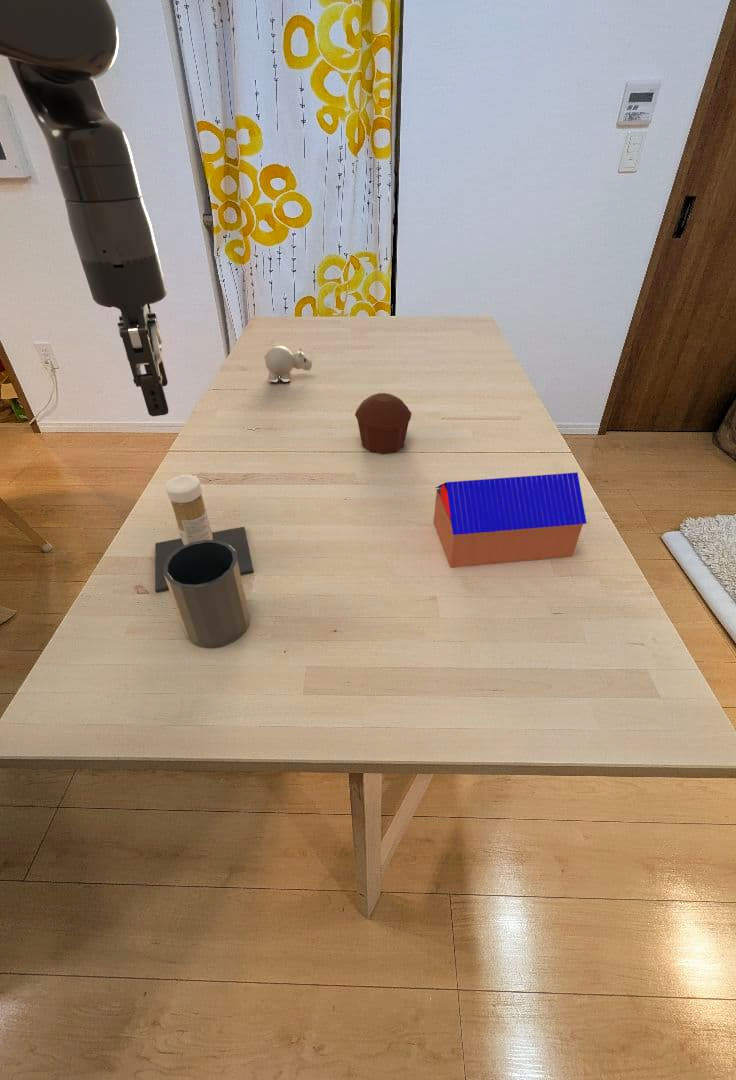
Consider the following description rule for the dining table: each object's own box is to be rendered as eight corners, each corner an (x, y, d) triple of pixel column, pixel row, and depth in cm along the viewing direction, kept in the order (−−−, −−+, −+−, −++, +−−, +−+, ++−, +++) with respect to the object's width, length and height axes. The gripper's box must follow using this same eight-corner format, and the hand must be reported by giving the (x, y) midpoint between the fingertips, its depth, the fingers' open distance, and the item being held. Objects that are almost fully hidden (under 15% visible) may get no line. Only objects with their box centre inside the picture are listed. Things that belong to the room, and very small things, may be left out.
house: (575, 557, 80) (596, 495, 72) (448, 569, 78) (456, 506, 70) (545, 511, 89) (560, 452, 82) (431, 521, 87) (436, 460, 80)
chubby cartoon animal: (314, 383, 132) (312, 350, 126) (266, 386, 131) (262, 352, 125) (313, 373, 137) (311, 340, 132) (267, 375, 136) (263, 342, 131)
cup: (185, 655, 66) (163, 594, 59) (183, 607, 72) (163, 547, 65) (253, 639, 68) (240, 578, 61) (245, 594, 74) (232, 534, 67)
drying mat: (155, 592, 74) (154, 589, 74) (156, 545, 82) (155, 542, 82) (253, 572, 78) (253, 569, 77) (244, 529, 86) (244, 526, 85)
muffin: (417, 453, 105) (420, 406, 98) (365, 461, 102) (364, 414, 96) (398, 426, 113) (400, 382, 107) (349, 433, 111) (348, 389, 105)
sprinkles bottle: (187, 549, 81) (165, 475, 72) (217, 544, 82) (199, 471, 73) (186, 568, 77) (164, 494, 69) (218, 563, 78) (199, 489, 70)
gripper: (86, 240, 57) (129, 381, 68) (69, 268, 47) (124, 430, 57) (156, 236, 59) (188, 374, 69) (156, 262, 49) (194, 420, 59)
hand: (159, 399), depth 63 cm, fingers open, 8 cm apart
